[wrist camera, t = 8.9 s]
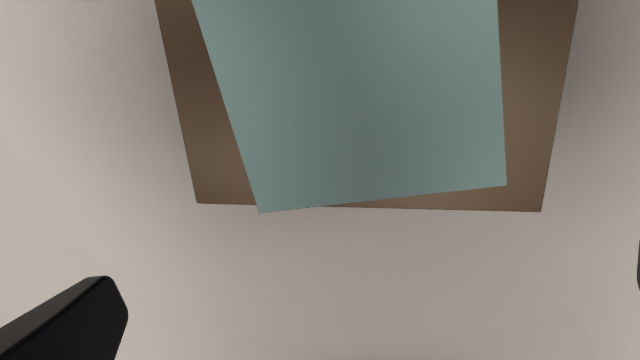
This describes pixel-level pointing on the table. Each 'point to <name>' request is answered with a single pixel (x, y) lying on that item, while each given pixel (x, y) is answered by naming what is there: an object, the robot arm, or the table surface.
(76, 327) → the robot arm
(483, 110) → the sage cube
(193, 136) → the walnut block
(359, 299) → the table surface
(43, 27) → the table surface
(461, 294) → the table surface
